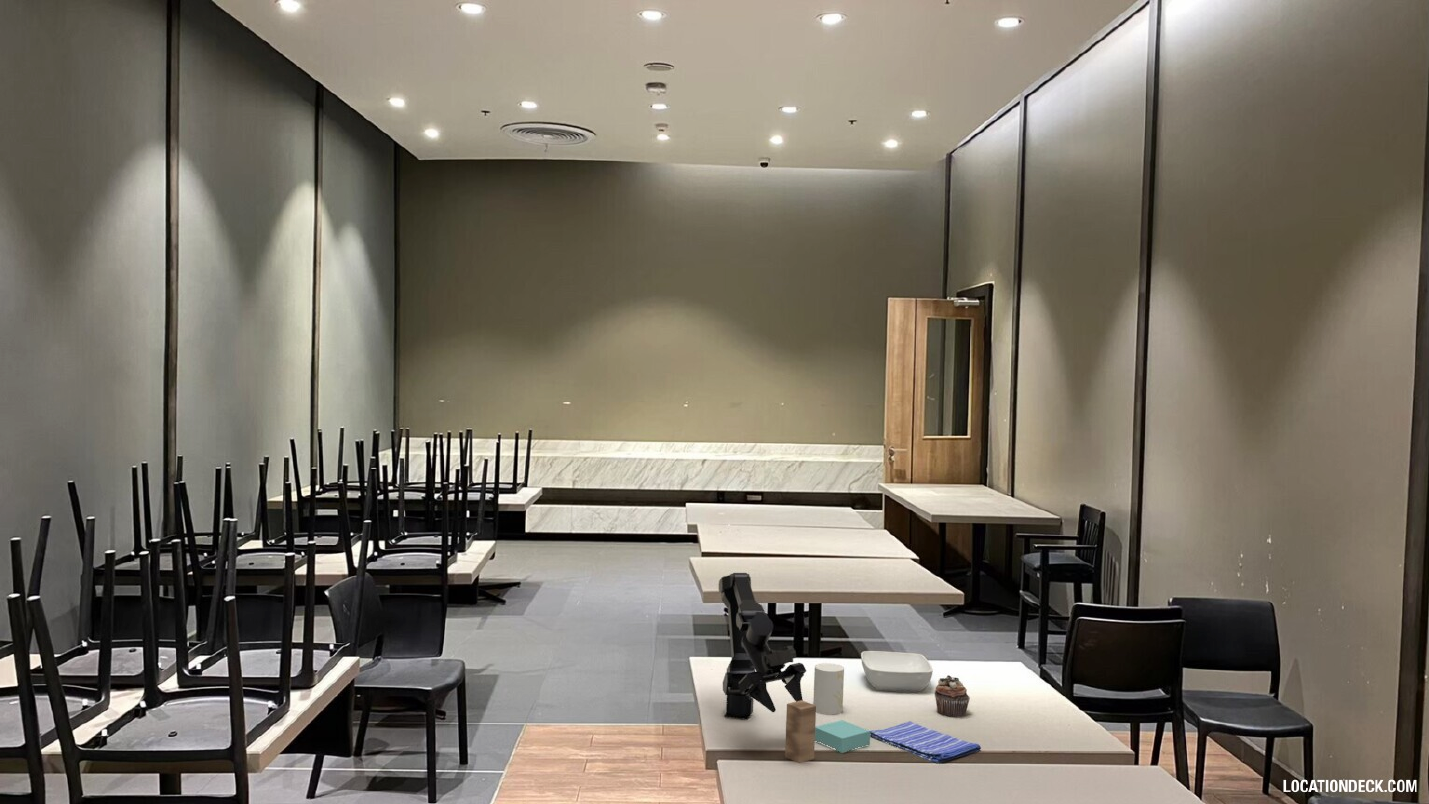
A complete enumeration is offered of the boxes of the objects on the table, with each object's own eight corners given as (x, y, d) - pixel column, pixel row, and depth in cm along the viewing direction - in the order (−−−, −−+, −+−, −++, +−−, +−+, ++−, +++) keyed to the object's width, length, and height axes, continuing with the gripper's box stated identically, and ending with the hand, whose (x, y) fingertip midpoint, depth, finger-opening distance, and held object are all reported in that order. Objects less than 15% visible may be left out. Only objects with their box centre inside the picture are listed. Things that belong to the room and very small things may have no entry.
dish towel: (940, 766, 255) (940, 755, 255) (866, 738, 273) (867, 727, 273) (983, 752, 266) (983, 741, 266) (910, 726, 284) (910, 715, 284)
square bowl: (935, 696, 310) (936, 670, 309) (865, 694, 310) (866, 668, 310) (922, 676, 330) (923, 652, 330) (857, 674, 330) (858, 649, 330)
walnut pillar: (784, 756, 256) (786, 703, 256) (799, 752, 260) (801, 700, 259) (799, 762, 252) (801, 709, 252) (814, 758, 256) (816, 705, 255)
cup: (841, 715, 289) (842, 672, 288) (811, 712, 290) (813, 669, 290) (843, 706, 297) (845, 664, 296) (814, 704, 298) (816, 661, 298)
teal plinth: (813, 742, 268) (814, 726, 268) (841, 735, 274) (842, 719, 274) (841, 754, 260) (842, 738, 260) (869, 746, 266) (870, 730, 266)
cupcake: (962, 720, 288) (964, 684, 288) (928, 713, 293) (930, 677, 293) (973, 711, 296) (975, 676, 296) (940, 705, 301) (942, 670, 301)
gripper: (747, 640, 257) (776, 697, 248) (802, 631, 269) (832, 684, 260) (725, 665, 263) (753, 721, 255) (780, 654, 275) (808, 708, 267)
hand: (788, 708), depth 259 cm, fingers open, 9 cm apart
